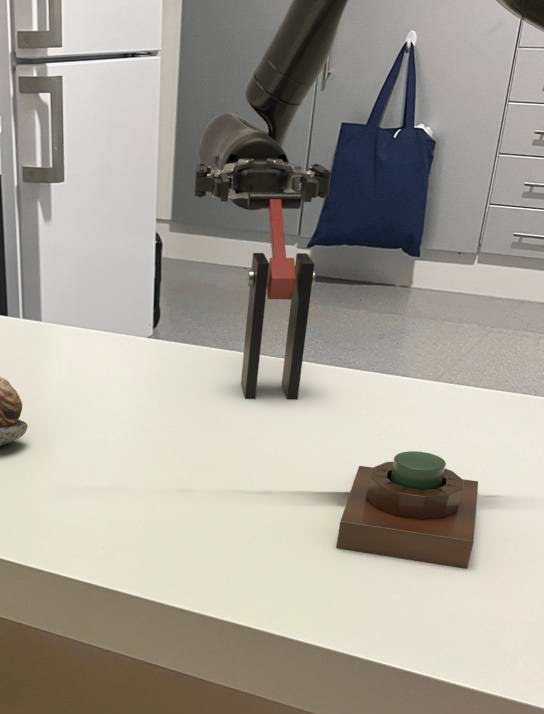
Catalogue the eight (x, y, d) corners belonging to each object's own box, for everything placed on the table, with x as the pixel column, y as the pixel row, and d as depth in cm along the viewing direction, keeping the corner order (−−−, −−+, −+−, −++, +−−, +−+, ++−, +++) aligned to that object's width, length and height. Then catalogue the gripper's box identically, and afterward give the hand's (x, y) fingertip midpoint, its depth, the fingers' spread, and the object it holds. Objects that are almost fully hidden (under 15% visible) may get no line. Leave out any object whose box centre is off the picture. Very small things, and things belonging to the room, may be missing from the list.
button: (392, 470, 76) (396, 448, 75) (442, 477, 75) (447, 454, 74) (387, 488, 73) (391, 466, 72) (439, 495, 72) (444, 472, 71)
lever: (246, 206, 100) (249, 184, 98) (297, 206, 100) (302, 184, 98) (252, 299, 93) (255, 278, 91) (307, 299, 93) (311, 278, 91)
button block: (355, 490, 82) (362, 443, 80) (472, 507, 79) (483, 459, 77) (335, 548, 73) (343, 498, 71) (466, 569, 71) (479, 517, 68)
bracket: (222, 388, 104) (234, 246, 96) (301, 389, 103) (319, 247, 96) (230, 422, 95) (243, 270, 88) (316, 424, 95) (337, 270, 88)
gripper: (192, 133, 116) (200, 150, 102) (318, 133, 115) (343, 150, 101) (188, 203, 120) (195, 229, 106) (310, 204, 119) (332, 230, 105)
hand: (267, 191), depth 104 cm, fingers open, 8 cm apart
